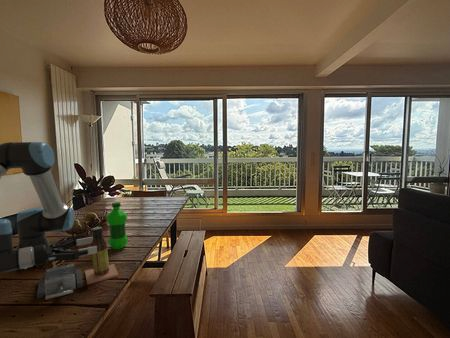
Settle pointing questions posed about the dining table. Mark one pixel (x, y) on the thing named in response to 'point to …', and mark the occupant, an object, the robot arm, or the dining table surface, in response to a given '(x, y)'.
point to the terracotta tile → (96, 278)
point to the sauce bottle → (99, 252)
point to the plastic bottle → (117, 227)
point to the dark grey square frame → (59, 281)
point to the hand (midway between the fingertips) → (95, 244)
